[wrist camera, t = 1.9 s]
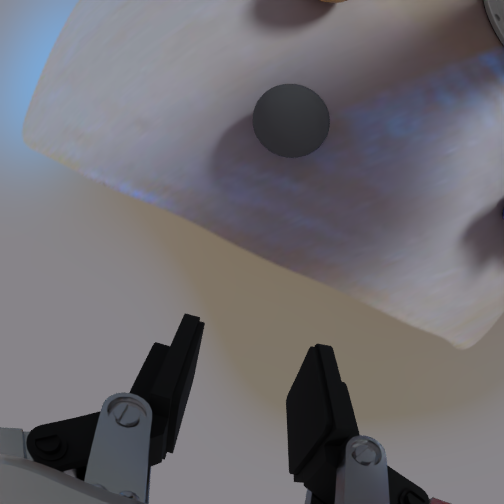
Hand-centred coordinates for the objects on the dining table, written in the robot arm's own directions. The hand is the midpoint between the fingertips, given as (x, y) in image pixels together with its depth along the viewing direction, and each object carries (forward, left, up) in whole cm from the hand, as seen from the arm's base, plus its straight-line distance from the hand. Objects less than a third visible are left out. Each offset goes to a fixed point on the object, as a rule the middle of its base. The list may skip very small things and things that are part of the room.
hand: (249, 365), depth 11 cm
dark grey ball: (-5, -8, -14) cm, 17 cm away
